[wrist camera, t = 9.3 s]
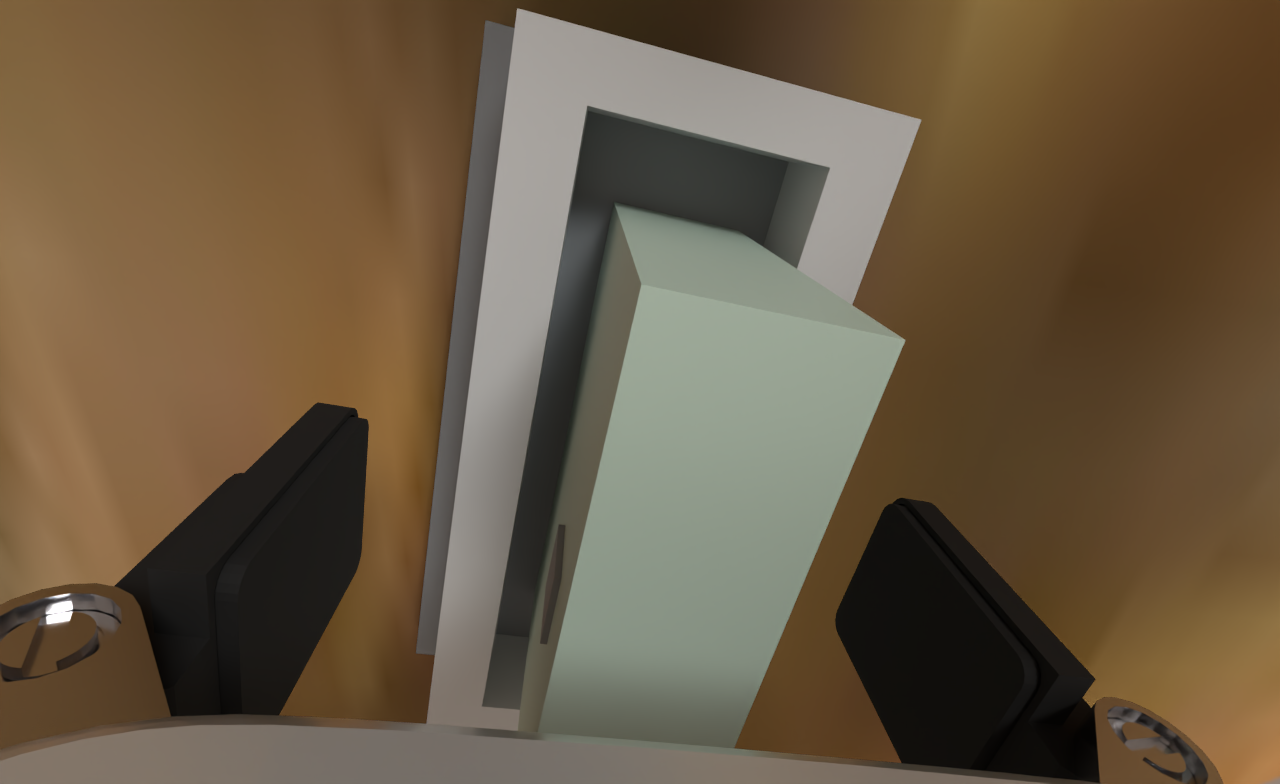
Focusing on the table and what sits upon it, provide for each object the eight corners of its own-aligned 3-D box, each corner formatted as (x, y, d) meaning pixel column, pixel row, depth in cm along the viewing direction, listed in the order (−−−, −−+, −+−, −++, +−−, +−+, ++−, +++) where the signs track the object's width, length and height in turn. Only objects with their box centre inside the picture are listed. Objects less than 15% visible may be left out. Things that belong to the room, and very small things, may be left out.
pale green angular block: (743, 231, 12) (915, 341, 6) (635, 606, 16) (665, 926, 9) (609, 200, 12) (630, 282, 5) (530, 593, 15) (487, 920, 9)
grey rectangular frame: (881, 132, 12) (965, 131, 10) (695, 660, 18) (714, 755, 15) (492, 27, 11) (459, -8, 8) (423, 630, 17) (390, 728, 14)
